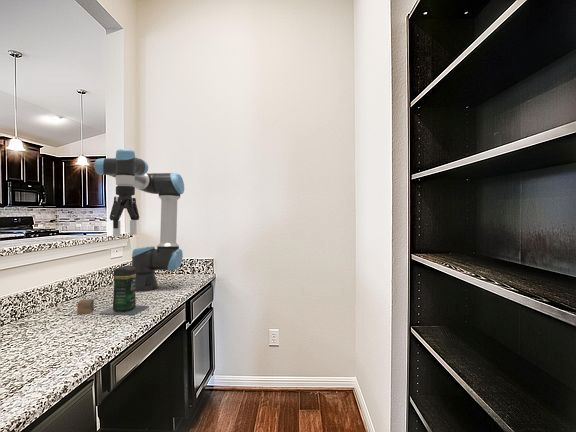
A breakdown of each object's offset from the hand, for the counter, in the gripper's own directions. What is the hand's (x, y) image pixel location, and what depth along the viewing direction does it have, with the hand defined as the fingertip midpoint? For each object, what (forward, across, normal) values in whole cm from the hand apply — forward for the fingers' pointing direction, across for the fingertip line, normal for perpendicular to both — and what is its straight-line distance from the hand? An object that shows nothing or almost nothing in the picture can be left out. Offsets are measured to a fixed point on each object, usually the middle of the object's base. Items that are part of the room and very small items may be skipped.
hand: (125, 235), depth 157 cm
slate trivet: (+32, 0, 0) cm, 32 cm away
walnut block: (+32, +4, -15) cm, 36 cm away
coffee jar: (+32, 0, 0) cm, 32 cm away
